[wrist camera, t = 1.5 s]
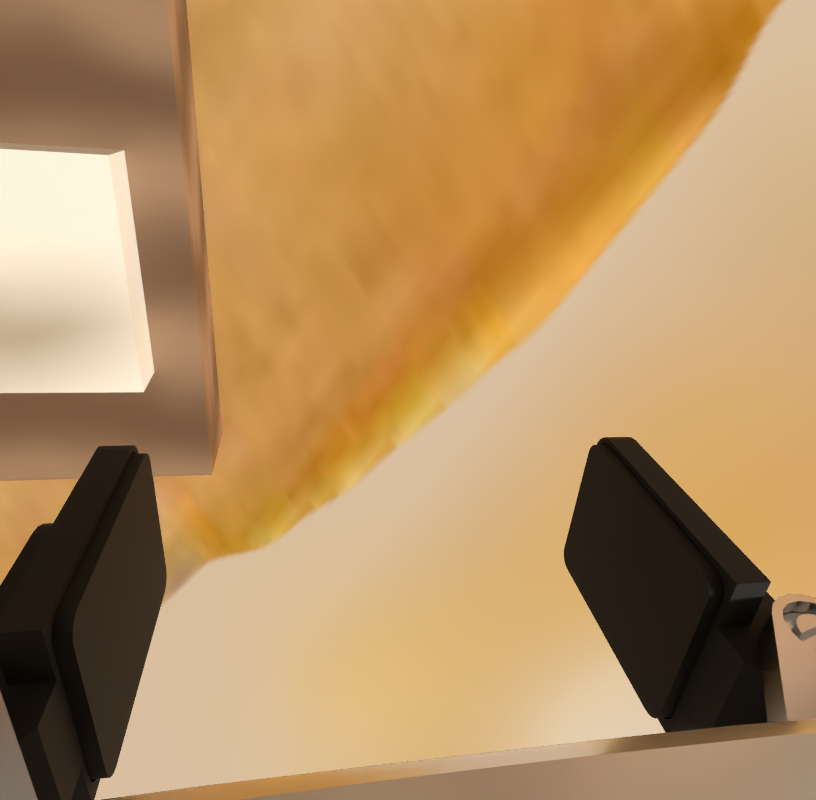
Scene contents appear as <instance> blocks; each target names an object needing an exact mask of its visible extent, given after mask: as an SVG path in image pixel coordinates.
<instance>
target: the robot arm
mask: <svg viewBox="0 0 816 800" xmlns="http://www.w3.org/2000/svg"><path fill="white" fill-rule="evenodd" d="M564 559H565V564H566V567H567V569H568V571H569V573H570V574H571V576H572V578H573V580H574V581H575V583H576V585H577V587H578V589H579V591H580V592H581V594H582V596H583V598H584V600H585V601H586V603H587V605H588V607H589V609H590V610H591V612H592V614H593V616H594V618H595V619H596V621H597V623H598V625H599V626H600V628H601V630H602V632H603V634H604V636H605V637H606V639H607V641H608V643H609V645H610V646H611V648H612V650H613V652H614V653H615V655H616V657H617V659H618V661H619V663H620V665H621V666H622V668H623V670H624V672H625V673H626V675H627V677H628V679H629V681H630V683H631V684H632V686H633V688H634V689H635V691H636V693H637V695H638V697H639V699H640V701H641V702H642V704H643V706H644V708H645V709H646V711H647V712H648V714H649V715H650V716H651V717H653V718H658V720H659V722H660V723H661V725H662V727H663V728H664V730H665V732H666V733H660V734H651V735H642V736H632V737H623V738H614V739H604V740H595V741H586V742H577V743H568V744H559V745H550V746H541V747H532V748H523V749H514V750H505V751H496V752H488V753H479V754H470V755H462V756H453V757H444V758H435V759H426V760H418V761H409V762H400V763H391V764H383V765H374V766H366V767H357V768H349V769H341V770H332V771H325V772H315V773H307V774H299V775H290V776H282V777H274V778H266V779H257V780H248V781H240V782H232V783H223V784H215V785H206V786H199V787H191V788H184V789H177V790H170V791H162V792H155V793H148V794H140V795H133V796H126V797H119V798H111V799H104V800H816V598H815V597H811V596H807V595H802V594H787V595H784V596H781V597H778V598H777V599H776V600H774V599H773V598H772V597H771V596H770V595H769V594H768V593H767V592H766V591H767V589H768V587H769V585H770V580H769V579H768V578H767V577H766V576H765V575H764V574H763V573H762V572H761V571H760V570H759V569H758V568H757V567H756V566H755V565H754V564H753V563H752V562H751V560H750V559H749V558H748V557H747V556H746V555H745V554H744V553H743V552H742V551H741V550H740V549H739V548H738V547H737V546H736V545H735V544H734V543H733V542H732V541H731V540H730V539H729V538H728V536H727V535H726V534H725V533H724V532H723V531H722V530H721V529H720V528H719V527H718V526H717V525H716V524H715V523H714V522H713V521H712V520H711V519H710V518H709V517H708V516H707V515H706V513H705V512H703V510H702V509H701V508H700V507H699V506H698V505H697V504H696V503H695V502H694V501H693V500H692V499H691V498H690V497H689V496H688V495H687V494H686V493H685V492H684V490H683V489H682V488H681V487H680V486H678V484H677V483H676V482H675V481H674V480H673V479H672V478H671V477H670V476H669V475H668V474H667V473H666V472H665V471H664V470H663V469H662V468H661V467H660V465H659V464H658V463H657V462H656V461H655V460H654V459H653V458H652V457H651V456H650V455H649V454H648V453H647V452H646V451H645V450H644V449H643V448H642V447H641V446H640V445H639V443H638V442H637V441H636V440H634V439H633V438H631V437H609V438H608V437H606V438H602V439H600V441H599V442H598V444H597V445H593V446H592V447H591V448H590V451H589V454H588V458H587V462H586V466H585V469H584V473H583V477H582V482H581V485H580V489H579V493H578V497H577V501H576V505H575V509H574V513H573V517H572V521H571V525H570V529H569V532H568V537H567V540H566V544H565V549H564ZM165 587H166V565H165V558H164V551H163V544H162V537H161V530H160V523H159V516H158V510H157V503H156V496H155V489H154V482H153V475H152V468H151V462H150V457H149V455H148V454H147V453H139V452H138V449H137V447H136V446H135V445H121V446H99V447H98V448H97V449H96V451H95V452H94V454H93V456H92V458H91V459H90V461H89V463H88V465H87V466H86V468H85V470H84V471H83V473H82V475H81V477H80V478H79V480H78V482H77V483H76V485H75V487H74V489H73V490H72V492H71V494H70V496H69V497H68V499H67V501H66V502H65V504H64V506H63V508H62V509H61V511H60V513H59V514H58V516H57V518H56V520H55V521H54V523H49V524H42V525H40V526H38V527H37V528H36V530H35V531H34V532H33V533H32V535H31V537H30V538H29V540H28V542H27V543H26V545H25V546H24V548H23V550H22V551H21V553H20V555H19V556H18V558H17V559H16V561H15V563H14V564H13V566H12V568H11V569H10V571H9V573H8V574H7V576H6V577H5V579H4V581H3V582H2V584H1V586H0V800H94V798H95V795H96V791H97V788H98V785H99V781H100V778H109V777H111V776H112V775H113V773H114V771H115V768H116V765H117V762H118V758H119V754H120V751H121V747H122V743H123V740H124V736H125V733H126V729H127V725H128V722H129V718H130V715H131V711H132V707H133V704H134V700H135V697H136V693H137V689H138V686H139V682H140V679H141V675H142V671H143V668H144V664H145V660H146V657H147V653H148V650H149V646H150V643H151V639H152V635H153V632H154V628H155V625H156V621H157V617H158V614H159V610H160V607H161V603H162V599H163V596H164V592H165Z"/></svg>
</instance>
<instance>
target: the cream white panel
mask: <svg viewBox="0 0 816 800" xmlns="http://www.w3.org/2000/svg"><path fill="white" fill-rule="evenodd" d="M153 374H154V365H153V358H152V350H151V343H150V336H149V328H148V321H147V314H146V306H145V299H144V292H143V284H142V277H141V270H140V262H139V255H138V248H137V240H136V233H135V226H134V218H133V211H132V204H131V196H130V189H129V182H128V174H127V167H126V160H125V152H124V150H113V149H97V148H80V147H64V146H47V145H31V144H14V143H0V393H110V392H144V391H145V389H146V387H147V385H148V383H149V381H150V379H151V378H152V376H153Z"/></svg>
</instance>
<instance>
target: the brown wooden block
mask: <svg viewBox="0 0 816 800" xmlns="http://www.w3.org/2000/svg"><path fill="white" fill-rule="evenodd" d="M0 143H14V144H31V145H47V146H64V147H80V148H97V149H113V150H124V152H125V160H126V167H127V174H128V182H129V189H130V196H131V204H132V211H133V218H134V226H135V233H136V240H137V248H138V255H139V262H140V270H141V277H142V284H143V292H144V299H145V306H146V314H147V321H148V328H149V336H150V343H151V350H152V358H153V365H154V374H153V376H152V378H151V379H150V381H149V383H148V385H147V387H146V389H145V391H144V392H110V393H0V481H15V480H49V479H79V478H80V477H81V475H82V473H83V471H84V470H85V468H86V466H87V465H88V463H89V461H90V459H91V458H92V456H93V454H94V452H95V451H96V449H97V448H98V447H99V446H121V445H135V446H136V447H137V449H138V452H139V453H147V454H148V455H149V457H150V462H151V468H152V475H153V476H188V475H212V472H213V468H214V464H215V460H216V456H217V452H218V447H219V443H220V439H221V435H222V428H221V416H220V404H219V392H218V380H217V368H216V356H215V344H214V332H213V321H212V309H211V297H210V285H209V273H208V261H207V249H206V237H205V225H204V213H203V201H202V189H201V177H200V165H199V153H198V141H197V129H196V117H195V105H194V93H193V81H192V69H191V57H190V45H189V33H188V21H187V9H186V0H0Z"/></svg>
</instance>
